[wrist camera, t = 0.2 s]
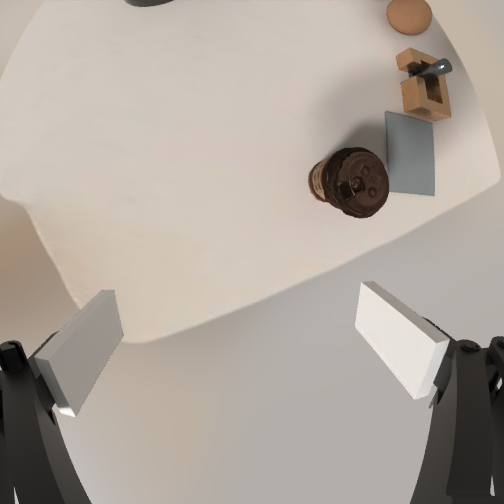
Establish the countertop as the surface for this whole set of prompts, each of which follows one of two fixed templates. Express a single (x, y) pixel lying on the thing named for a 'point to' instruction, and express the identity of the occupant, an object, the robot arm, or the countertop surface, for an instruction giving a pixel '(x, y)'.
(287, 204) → the countertop surface
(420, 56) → the c link
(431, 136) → the mat
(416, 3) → the egg
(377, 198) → the coffee cup
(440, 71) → the post stand
